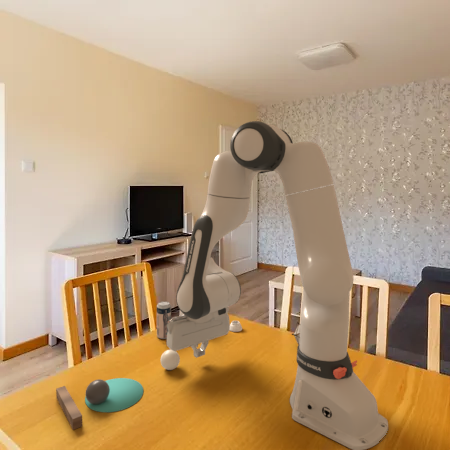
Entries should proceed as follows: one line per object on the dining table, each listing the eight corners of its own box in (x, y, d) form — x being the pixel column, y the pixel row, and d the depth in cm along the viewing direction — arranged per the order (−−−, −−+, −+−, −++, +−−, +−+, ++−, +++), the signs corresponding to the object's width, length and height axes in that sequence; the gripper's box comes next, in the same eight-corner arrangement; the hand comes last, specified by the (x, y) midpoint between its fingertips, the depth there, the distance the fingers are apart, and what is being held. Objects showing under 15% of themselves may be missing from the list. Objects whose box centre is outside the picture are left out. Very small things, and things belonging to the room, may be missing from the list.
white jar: (225, 329, 130) (234, 333, 125) (226, 321, 129) (234, 326, 125) (236, 326, 132) (244, 330, 128) (236, 318, 132) (245, 322, 128)
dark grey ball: (109, 408, 84) (115, 385, 85) (86, 409, 81) (93, 385, 81) (101, 397, 88) (107, 375, 89) (79, 398, 85) (86, 375, 85)
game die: (307, 360, 115) (313, 345, 108) (285, 344, 119) (289, 329, 112) (320, 340, 120) (326, 324, 113) (298, 326, 124) (303, 310, 117)
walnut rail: (82, 426, 77) (82, 415, 76) (72, 429, 76) (72, 419, 75) (65, 395, 88) (64, 385, 87) (56, 398, 86) (56, 388, 86)
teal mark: (153, 397, 87) (152, 396, 87) (96, 420, 79) (96, 419, 79) (129, 373, 98) (129, 372, 98) (77, 390, 89) (77, 390, 89)
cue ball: (160, 352, 98) (166, 372, 96) (178, 345, 101) (184, 364, 99) (155, 354, 102) (161, 373, 101) (173, 348, 105) (179, 366, 104)
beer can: (167, 340, 119) (167, 306, 117) (154, 339, 120) (154, 305, 118) (172, 334, 123) (172, 301, 122) (160, 333, 124) (159, 300, 123)
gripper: (173, 322, 93) (173, 371, 95) (232, 306, 106) (232, 349, 107) (162, 315, 98) (162, 362, 100) (220, 300, 111) (220, 342, 112)
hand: (199, 355), depth 104 cm, fingers closed
